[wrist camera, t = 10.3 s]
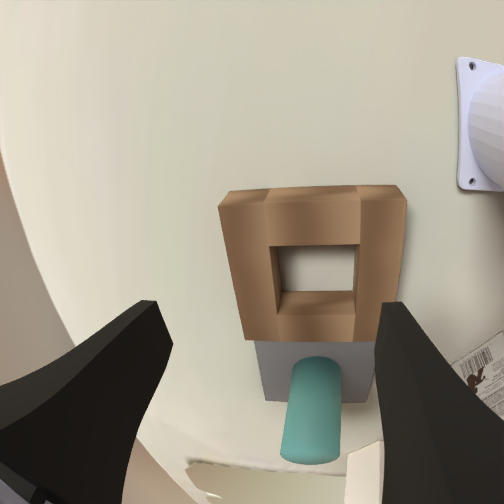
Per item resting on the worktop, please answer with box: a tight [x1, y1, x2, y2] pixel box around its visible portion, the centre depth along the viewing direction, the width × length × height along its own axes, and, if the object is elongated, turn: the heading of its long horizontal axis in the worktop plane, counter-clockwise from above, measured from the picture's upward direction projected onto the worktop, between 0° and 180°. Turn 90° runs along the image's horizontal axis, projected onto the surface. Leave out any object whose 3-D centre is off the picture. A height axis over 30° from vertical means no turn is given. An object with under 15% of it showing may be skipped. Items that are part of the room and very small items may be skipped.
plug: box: [280, 356, 341, 465], centre depth 21 cm, size 4×4×8 cm
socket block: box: [218, 185, 407, 342], centre depth 19 cm, size 10×10×2 cm
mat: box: [254, 341, 376, 403], centre depth 25 cm, size 10×10×1 cm
